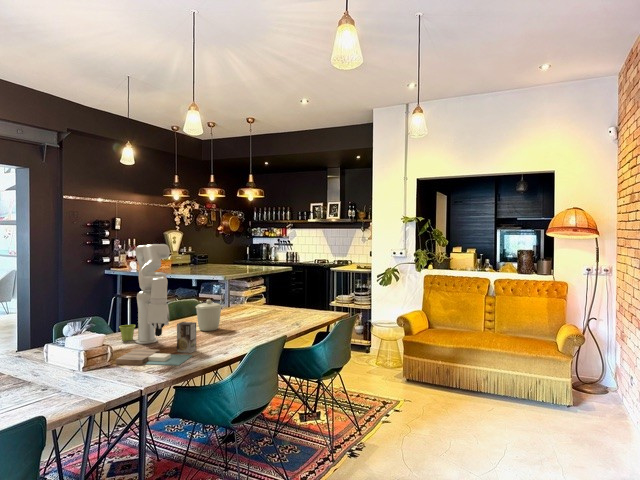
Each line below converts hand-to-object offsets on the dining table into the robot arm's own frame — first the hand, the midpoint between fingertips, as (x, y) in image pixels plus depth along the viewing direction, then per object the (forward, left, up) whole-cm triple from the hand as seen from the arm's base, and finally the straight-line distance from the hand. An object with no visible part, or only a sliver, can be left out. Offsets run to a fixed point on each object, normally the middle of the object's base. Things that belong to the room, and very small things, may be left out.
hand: (158, 335), depth 232 cm
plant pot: (-39, -39, -13) cm, 56 cm away
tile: (+1, +1, -12) cm, 12 cm away
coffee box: (-18, +8, -13) cm, 23 cm away
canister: (-74, +1, -13) cm, 75 cm away
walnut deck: (0, -11, -13) cm, 17 cm away
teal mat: (0, +6, -13) cm, 14 cm away
